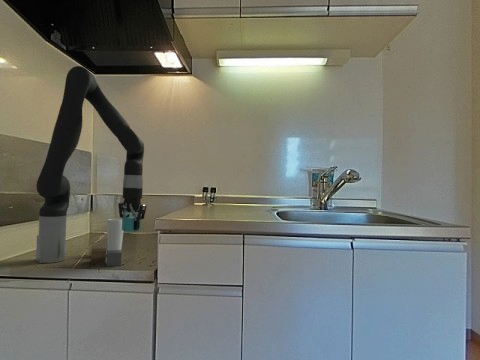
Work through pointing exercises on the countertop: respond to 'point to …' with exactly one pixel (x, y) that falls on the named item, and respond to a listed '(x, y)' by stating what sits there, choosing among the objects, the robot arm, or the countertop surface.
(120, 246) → the drinking glass
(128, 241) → the countertop surface
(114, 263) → the charcoal block
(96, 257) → the walnut block
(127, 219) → the teal block
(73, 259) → the countertop surface
